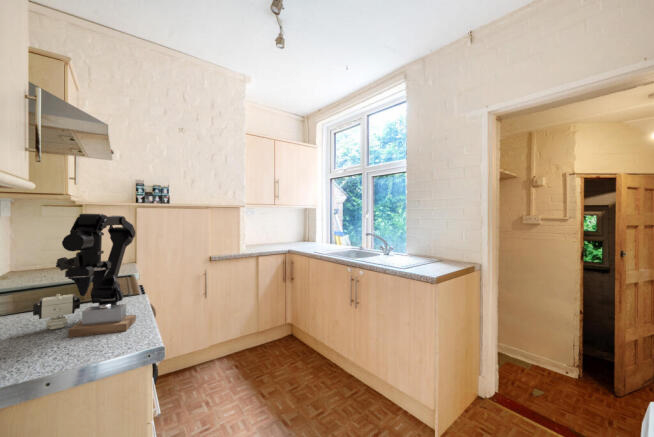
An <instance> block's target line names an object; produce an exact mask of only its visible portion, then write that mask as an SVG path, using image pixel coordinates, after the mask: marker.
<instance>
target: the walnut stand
mask: <svg viewBox="0 0 654 437" xmlns="http://www.w3.org/2000/svg"><path fill="white" fill-rule="evenodd" d="M136 319H137V316H136V314H130V315H127V314H126V318H125V319H124V320H122V321H121V322H117V323H107V324H97V325H86V326H82V320H81V321H79V322H78V323H77V324H75V325H72V326H71V327H70V328H69V329H67V337H68V338H72V337H83V336H91V335H92V336H94V335H101V334H109V333H119V332H127V331H128V330H129V329H130V328H131V326H132V325H134V323H136Z"/></svg>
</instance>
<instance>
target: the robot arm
mask: <svg viewBox="0 0 654 437" xmlns="http://www.w3.org/2000/svg"><path fill="white" fill-rule="evenodd" d="M114 226H115V227H114ZM106 228H108V229H107V232H108V234H109V236H110V237H109V239H110V240H111V243H112V246H111V248H110V252H109V255H108V258H107V260H102V255H103V254H104V252H105V251H104V250H102V245H103V244H102V239H103V236H104V235H105V234H104V233H105V232H103V230H104V229H106ZM136 235H137V234H136V229H135V227H134V224H132V223H130V222H129V220H127V218H126V217H125V216H123V215H109V216H108V215H106V214H104V213H79V215H78V216H77V217H76V219H75V221H74V222H73V225H72V227H71V229H70V231H69V234H67V235H66V236H64V237H63V240H62V241H61V245H62V247H63V248H64V249H65V250H66V251H68V252H76V251H77V252H76V253H75V256H74V257H70V258H68V257H66V256H64V257H60V258H57V260H56V262H55V264H56V265H55V267H56V268H58V269H59V270H60V272H63V271H65V272H64V278H67V279H68V280H71V281H74V283H75V285H76V287H77V289H78V292H79V295H80V297H85V296H86V295H87V293H88V290H89V288H90V285H91V283H92V288H91V290H90V300H91V303H92V304H94V305H95V304H98V306H100V305H103V304H111V305H118V303H119V302H122V301H123V299H124V292H123V291H122V289H121V288H120V287H121V283H120V281H119V280H118V276H119V273H120V269H121V266H122V263H123V259H124V257H125V253H126V252H125V251H126V249H127V247H128V246H129V245H131V244H132V243H133V240H134V238H135V237H136Z"/></svg>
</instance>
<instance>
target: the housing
mask: <svg viewBox="0 0 654 437" xmlns="http://www.w3.org/2000/svg"><path fill="white" fill-rule="evenodd" d="M126 315H127V303H123V304H122V303H121V304H117V305H111V304H103V305H100V306H99V305H97V306H96V305H94V306H89V307H87V308H86V309H83V310H82V312H81V321H82V326H86V325H97V324H107V323H117V322H121V321H122V320H124V319H125V318H126Z"/></svg>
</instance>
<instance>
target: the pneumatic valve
mask: <svg viewBox="0 0 654 437" xmlns="http://www.w3.org/2000/svg"><path fill="white" fill-rule="evenodd" d="M80 309H81V296H76V294H75V293H72V294H64V295H61V294H60V293H56V295H54V296H47V297H40V298H39V301H38V302H34V303H33V306H32V316H33V317H35V316H37V317H38V320H40V319H41V320H42V319H48V318H49V320H47V321H46V325H45V326H46V329H49V330H58V329H63V328H65V327H66V325H68V317H66V315H73V314H75V311H77V310H80Z"/></svg>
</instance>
